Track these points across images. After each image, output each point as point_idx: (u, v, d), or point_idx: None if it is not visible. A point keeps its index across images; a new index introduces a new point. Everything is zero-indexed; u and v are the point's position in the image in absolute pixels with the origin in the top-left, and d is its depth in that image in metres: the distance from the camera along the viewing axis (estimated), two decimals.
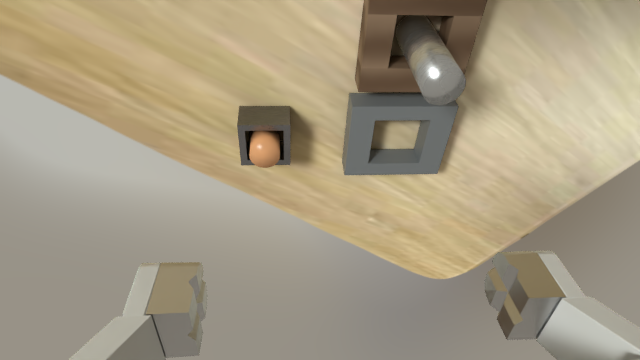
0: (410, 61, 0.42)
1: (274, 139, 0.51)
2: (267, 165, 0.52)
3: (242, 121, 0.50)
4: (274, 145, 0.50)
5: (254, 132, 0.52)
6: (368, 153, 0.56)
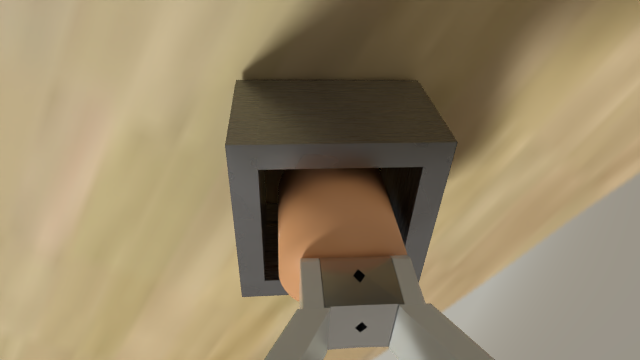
0: None
1: (292, 206, 0.12)
2: None
3: None
4: (295, 228, 0.11)
5: None
6: None
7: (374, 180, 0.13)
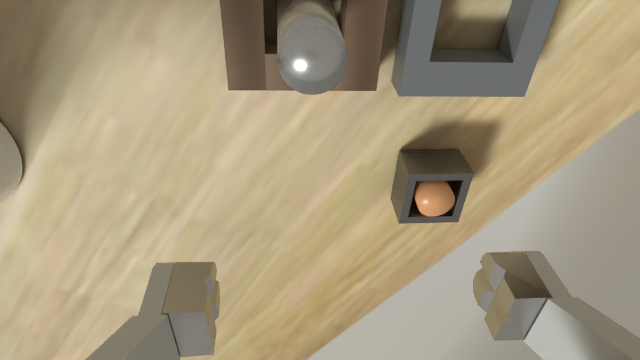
0: None
1: (420, 184, 0.41)
2: (452, 199, 0.41)
3: (398, 214, 0.43)
4: (424, 190, 0.41)
5: None
6: (491, 63, 0.34)
7: None
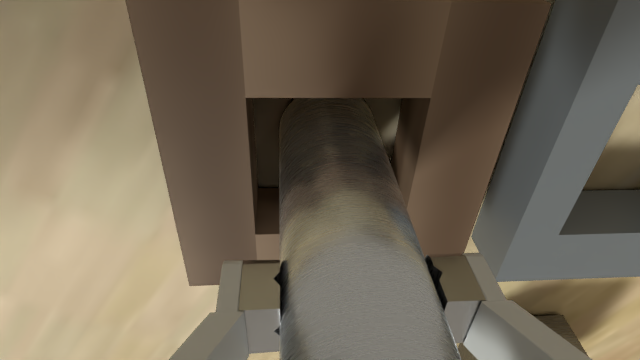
0: None
1: None
2: None
3: None
4: None
5: None
6: None
7: None
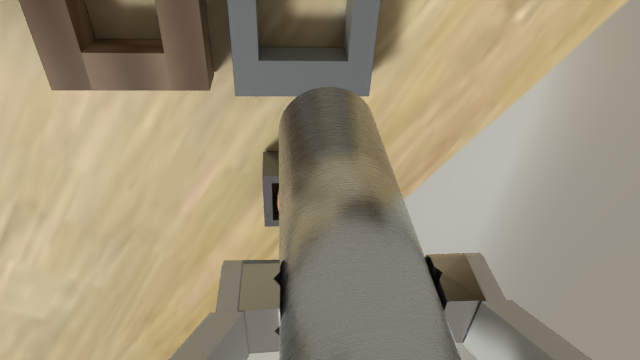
0: None
1: None
2: None
3: None
4: None
5: None
6: (325, 62, 0.33)
7: None
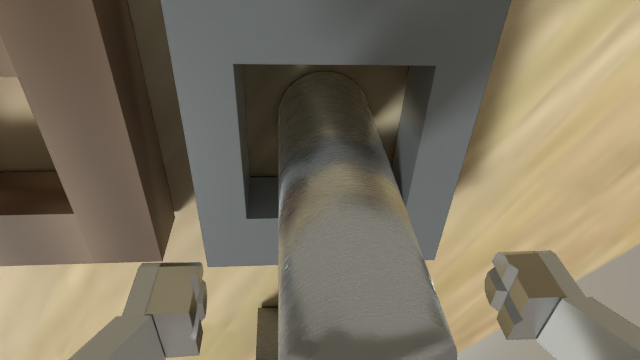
0: None
1: None
2: None
3: None
4: None
5: None
6: None
7: None
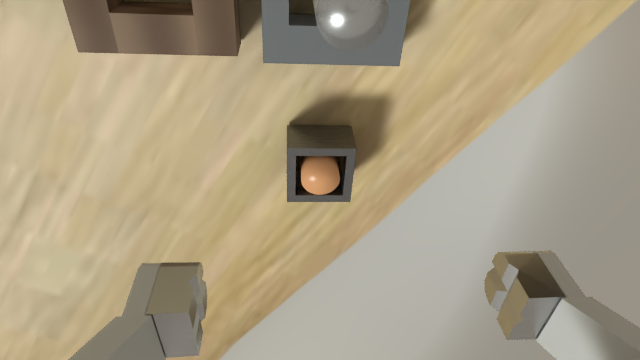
0: None
1: (305, 160, 0.40)
2: (336, 177, 0.39)
3: None
4: (306, 165, 0.39)
5: None
6: None
7: None
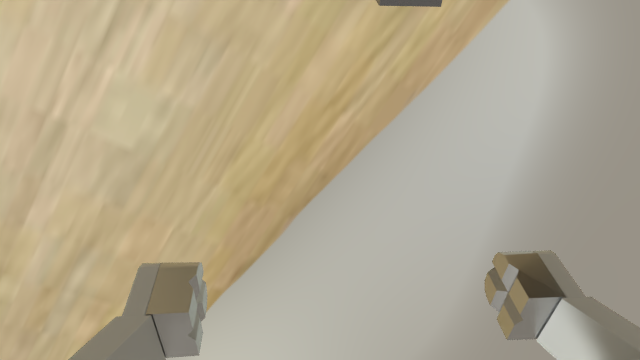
0: None
1: None
2: None
3: None
4: None
5: None
6: None
7: None
